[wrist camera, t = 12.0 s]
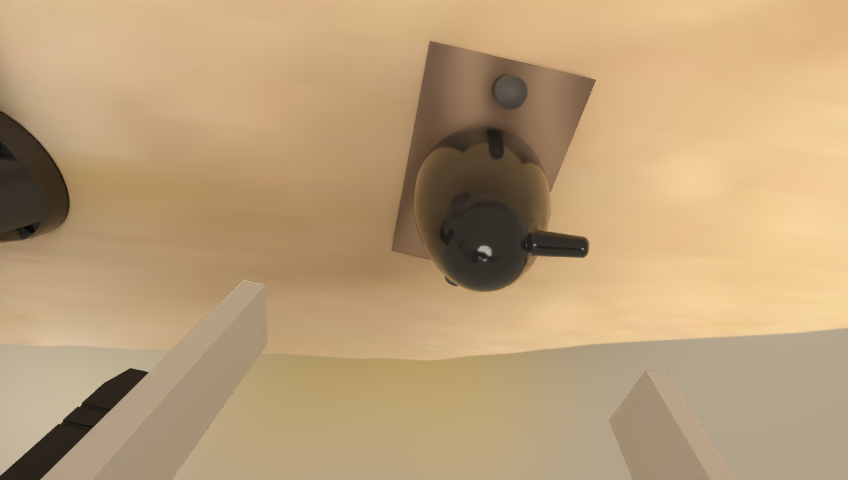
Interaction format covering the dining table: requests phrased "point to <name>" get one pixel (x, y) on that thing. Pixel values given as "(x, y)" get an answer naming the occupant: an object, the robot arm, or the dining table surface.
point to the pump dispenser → (486, 209)
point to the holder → (488, 115)
